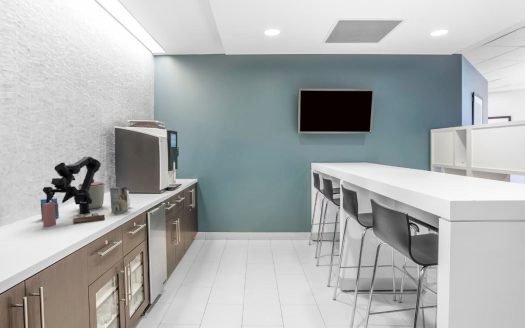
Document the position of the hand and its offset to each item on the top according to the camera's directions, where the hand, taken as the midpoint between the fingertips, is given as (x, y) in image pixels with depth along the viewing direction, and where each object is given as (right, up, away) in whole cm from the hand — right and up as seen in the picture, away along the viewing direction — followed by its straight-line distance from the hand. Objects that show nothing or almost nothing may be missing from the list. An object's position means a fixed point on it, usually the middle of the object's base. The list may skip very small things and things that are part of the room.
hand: (54, 202), depth 192 cm
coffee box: (+24, -10, +32) cm, 41 cm away
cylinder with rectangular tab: (+20, -9, +47) cm, 52 cm away
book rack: (+16, -11, +7) cm, 21 cm away
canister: (-3, -10, +50) cm, 51 cm away
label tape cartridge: (-12, -12, +16) cm, 23 cm away
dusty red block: (0, -12, -5) cm, 13 cm away
